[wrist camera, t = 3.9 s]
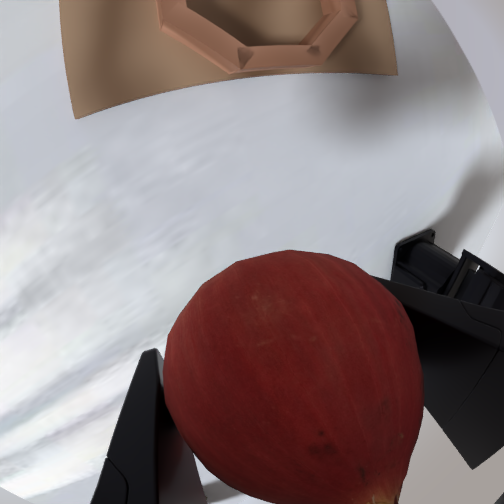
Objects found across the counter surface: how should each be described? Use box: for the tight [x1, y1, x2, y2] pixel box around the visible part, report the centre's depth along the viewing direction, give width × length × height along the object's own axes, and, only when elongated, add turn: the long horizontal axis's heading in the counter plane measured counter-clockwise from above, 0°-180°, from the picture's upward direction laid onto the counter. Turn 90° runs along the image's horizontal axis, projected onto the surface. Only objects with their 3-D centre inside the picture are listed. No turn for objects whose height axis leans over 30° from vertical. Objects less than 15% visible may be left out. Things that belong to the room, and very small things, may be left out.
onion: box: [162, 250, 425, 504], centre depth 6 cm, size 6×6×8 cm
